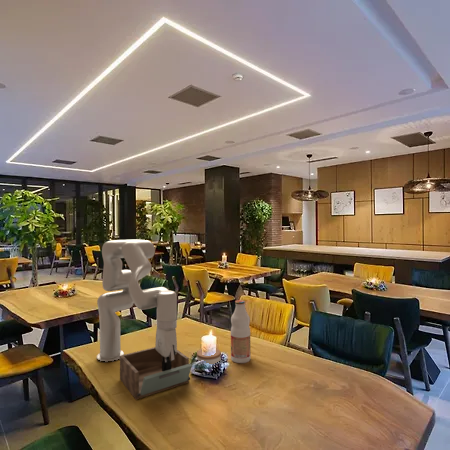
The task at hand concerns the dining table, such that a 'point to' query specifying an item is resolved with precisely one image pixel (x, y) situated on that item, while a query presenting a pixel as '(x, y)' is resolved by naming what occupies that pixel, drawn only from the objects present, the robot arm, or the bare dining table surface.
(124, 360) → the crate
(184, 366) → the panel
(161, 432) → the dining table surface
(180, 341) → the dining table surface
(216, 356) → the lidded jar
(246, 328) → the fruit juice
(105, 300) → the robot arm
